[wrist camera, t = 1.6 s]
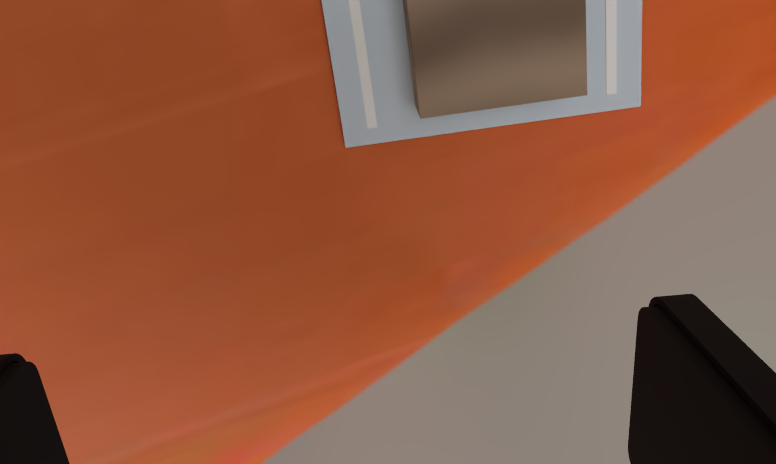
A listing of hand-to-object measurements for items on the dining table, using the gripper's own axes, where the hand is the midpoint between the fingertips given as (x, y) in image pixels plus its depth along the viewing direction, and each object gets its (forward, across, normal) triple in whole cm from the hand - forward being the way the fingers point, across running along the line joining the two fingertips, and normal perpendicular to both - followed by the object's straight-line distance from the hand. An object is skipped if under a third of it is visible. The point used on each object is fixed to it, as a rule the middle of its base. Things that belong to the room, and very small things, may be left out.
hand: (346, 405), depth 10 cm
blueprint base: (+31, -8, -4) cm, 32 cm away
